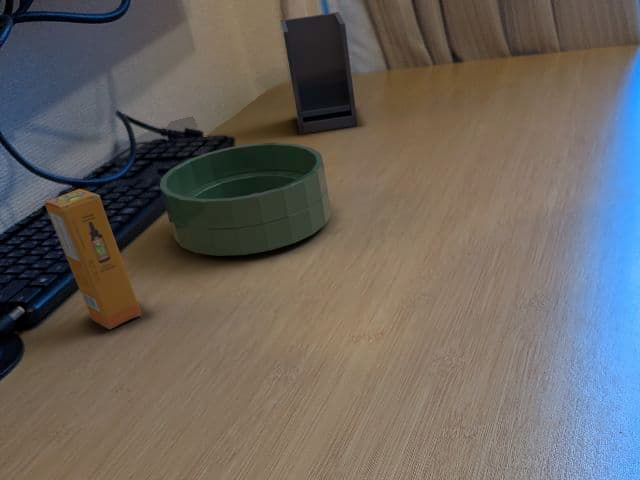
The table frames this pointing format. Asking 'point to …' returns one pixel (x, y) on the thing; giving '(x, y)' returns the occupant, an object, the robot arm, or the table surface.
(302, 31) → the dark grey open holder
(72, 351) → the table surface
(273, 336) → the table surface
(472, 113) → the table surface
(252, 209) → the bowl
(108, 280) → the supplement box
